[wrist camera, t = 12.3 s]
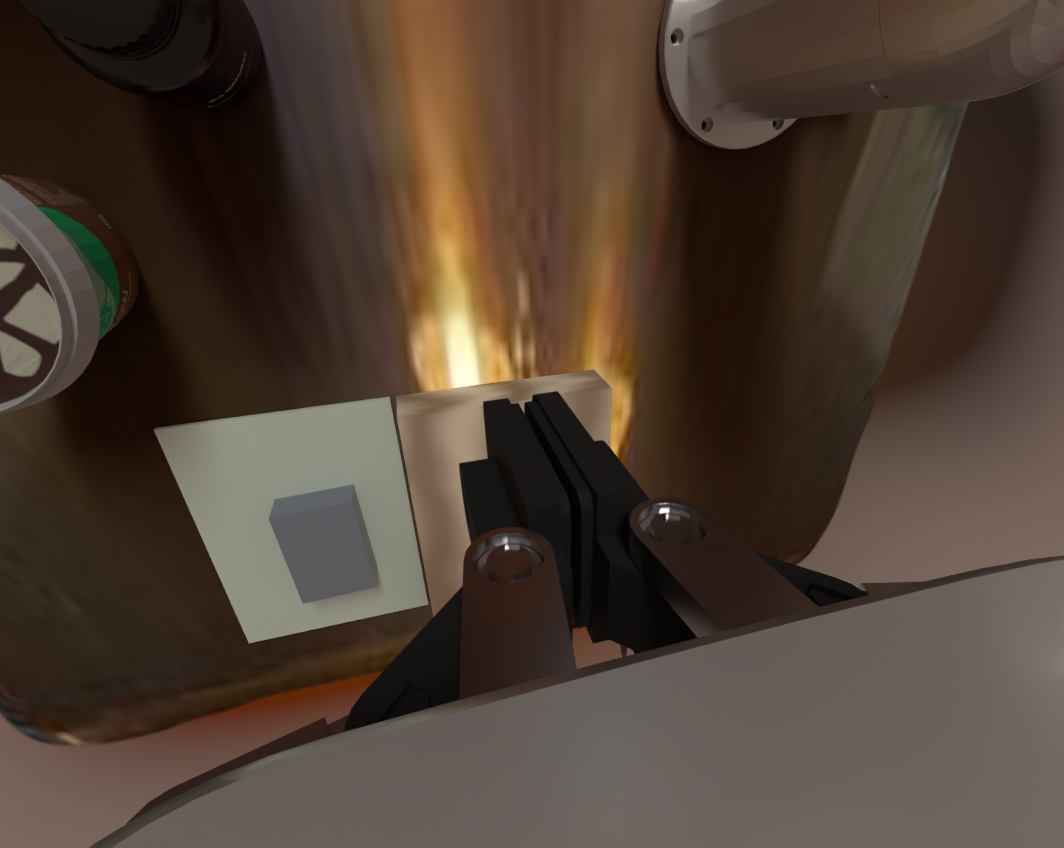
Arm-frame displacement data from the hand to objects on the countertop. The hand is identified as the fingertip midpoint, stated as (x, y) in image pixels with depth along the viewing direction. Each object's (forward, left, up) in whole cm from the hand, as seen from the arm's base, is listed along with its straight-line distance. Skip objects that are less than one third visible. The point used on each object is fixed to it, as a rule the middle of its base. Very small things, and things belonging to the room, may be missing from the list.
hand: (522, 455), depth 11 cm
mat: (+13, +21, -27) cm, 36 cm away
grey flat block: (+11, +22, -24) cm, 35 cm away
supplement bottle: (+11, -12, -27) cm, 32 cm away
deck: (-4, +21, -27) cm, 35 cm away
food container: (+20, 0, -27) cm, 34 cm away
